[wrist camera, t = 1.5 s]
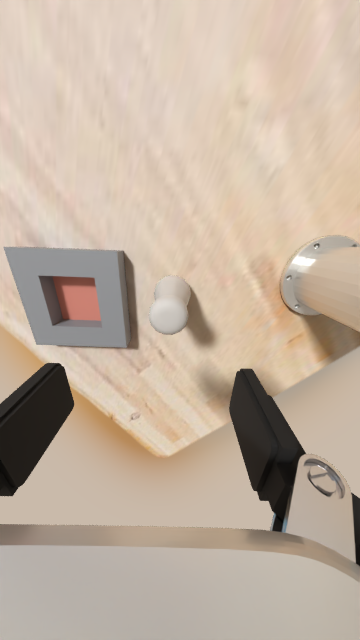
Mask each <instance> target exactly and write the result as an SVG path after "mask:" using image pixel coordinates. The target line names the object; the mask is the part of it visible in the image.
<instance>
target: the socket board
mask: <svg viewBox="0 0 360 640" xmlns="http://www.w3.org/2000/svg"><path fill="white" fill-rule="evenodd" d="M4 250H5V253H6V256H7V259H8V262H9V265H10V268H11V271H12V274H13V277H14V280H15V283H16V286H17V289H18V291H19V294H20V297H21V300H22V303H23V306H24V309H25V312H26V315H27V318H28V321H29V324H30V327H31V330H32V333H33V336H34V339H35V341H36V344H37V345H64V346H93V347H122V348H127V346H128V344H129V342H130V340H131V332H130V321H129V309H128V298H127V287H126V275H125V264H124V252H123V251H116V250H90V249H64V248H39V247H4Z"/></svg>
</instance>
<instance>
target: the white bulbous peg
mask: <svg viewBox="0 0 360 640" xmlns="http://www.w3.org/2000/svg"><path fill="white" fill-rule="evenodd" d="M190 296H191V291H190V286H189V285H188V284H187V282H186V281H185V280H184V279H183V278H181V277H179V276H175V275H168V276H166V277H164V278H162V279H160V281H159V282H158V283H157V285H156V287H155V292H154V297H155V302H154V303H153V304H152V305H151V307H150V312H149V320H150V323H151V325H152V326H153V328H154V329H155V330H156V331H158V332H160V333H162V334H166V335H173V334H175V333H178V332H180V331H181V330H182V329H183V328H184V327H185V326H186V323H187V320H188V311H187V305H188V303H189V300H190Z"/></svg>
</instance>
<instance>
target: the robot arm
mask: <svg viewBox="0 0 360 640" xmlns="http://www.w3.org/2000/svg"><path fill="white" fill-rule="evenodd" d="M287 276H288V277H287ZM280 292H281V296H282V299H283V300H284V302H285V304H286V305H287V306H288V307H289V308H291V309H292V310H294V311H296V312H298V313H300V314H304V315H320V314H323V315H325V316H327V317H329V318H331V319H333V320H336V321H338V322H340V323H342V324H344V325H346V326H348V327H350V328H352V329H354V330H356V331H358V332H360V245H359V243H357V242H356V241H355V240H354V239H351V238H349V237H347V236H340V235H333V236H325V237H320V238H318V239H315V240H313V241H311V242H309V243H307V244H305V245H304V246H303V247H302V248H300V249H299V250H298V251H297V252H296V253H295V254H294V255H293V256H292V257H291V259H290V260H289V261H288V263H287V264H286V266H285V268H284V270H283V273H282V276H281V282H280ZM73 407H74V400H73V397H72V393H71V390H70V386H69V383H68V379H67V376H66V372H65V369H64V367H63V366H62V365H61V364H59V363H46V364H45V365H44V366H43V367H41V368H40V369H39V370H38V371H37V372H36V373H35V374H34V375H32V376H31V377H30V378H29V379H28V380H27V381H26V382H25V383H23V384H22V385H21V386H20V387H19V388H18V389H17V390H16V391H14V392H13V393H12V394H11V395H10V396H9V397H8V398H6V399H5V400H4V401H3V402H2V403H1V404H0V496H13V495H14V493H15V492H16V490H17V489H18V487H20V486H21V485H23V484H24V483H25V481H26V480H27V478H28V476H29V475H30V474H31V472H32V471H33V469H34V467H35V466H36V465H37V463H38V461H39V460H40V458H41V457H42V455H43V454H44V452H45V451H46V449H47V448H48V446H49V445H50V443H51V441H52V440H53V438H54V437H55V435H56V434H57V432H58V431H59V429H60V428H61V426H62V425H63V423H64V422H65V420H66V418H67V417H68V416H69V414H70V412H71V411H72V409H73ZM229 410H230V415H231V419H232V422H233V425H234V429H235V432H236V435H237V438H238V442H239V445H240V449H241V452H242V456H243V459H244V462H245V465H246V469H247V472H248V476H249V479H250V482H251V486H252V488H253V490H254V491H257V492H258V496H259V499H260V500H261V501H269V503H270V506H271V509H272V511H273V512H274V515H273V519H272V524H271V528H270V531H266V530H252V529H232V528H203V527H157V526H98V525H97V526H96V525H95V526H94V525H14V524H13V525H12V524H10V525H9V524H0V640H360V498H358V497H357V496H355V495H354V494H353V493H351V490H350V487H349V485H348V483H347V481H346V479H345V478H344V477H343V476H342V474H341V473H340V472H339V471H338V470H337V469H336V468H335V467H334V466H333V465H332V464H331V463H329V462H328V461H326V460H325V459H323V458H321V457H319V456H317V455H313V454H306V453H305V451H304V450H303V448H302V446H301V445H300V443H299V441H298V440H297V438H296V436H295V435H294V433H293V431H292V430H291V428H290V426H289V425H288V423H287V421H286V420H285V418H284V416H283V415H282V413H281V411H280V410H279V408H278V407H277V405H276V403H275V401H274V400H273V398H272V397H271V396H270V395H267V393H266V392H265V390H264V388H263V386H262V385H261V383H260V381H259V380H258V378H257V376H256V374H255V373H254V371H253V370H252V369H240V371H237V373H236V377H235V382H234V387H233V392H232V397H231V401H230V407H229Z"/></svg>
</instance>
